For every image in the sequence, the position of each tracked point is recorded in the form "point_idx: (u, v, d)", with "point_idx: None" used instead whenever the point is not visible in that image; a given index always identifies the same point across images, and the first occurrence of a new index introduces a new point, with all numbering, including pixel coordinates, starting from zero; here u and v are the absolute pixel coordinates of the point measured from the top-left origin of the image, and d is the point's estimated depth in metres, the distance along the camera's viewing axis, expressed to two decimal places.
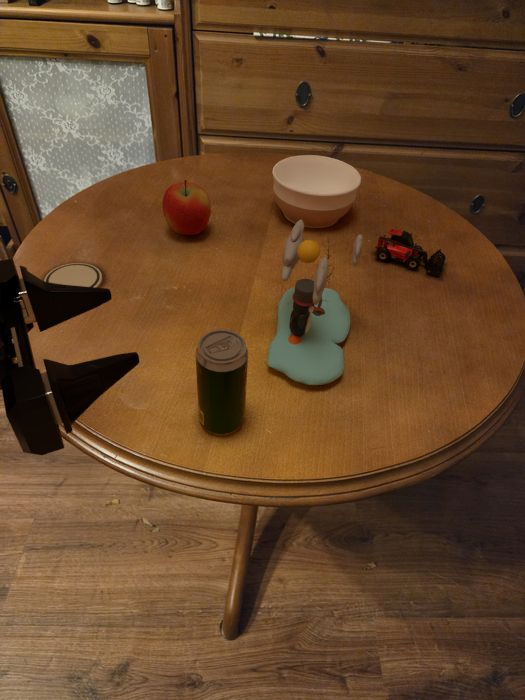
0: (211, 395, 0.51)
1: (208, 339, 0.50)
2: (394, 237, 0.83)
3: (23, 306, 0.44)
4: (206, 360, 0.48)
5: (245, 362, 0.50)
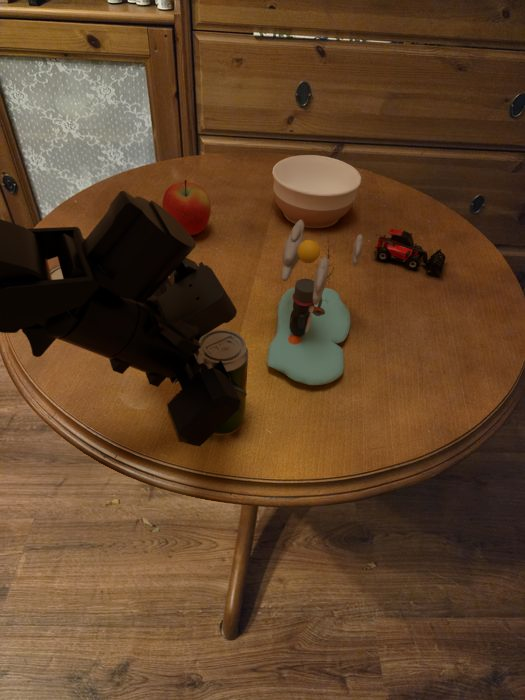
0: None
1: (208, 339, 0.50)
2: (394, 237, 0.83)
3: None
4: (206, 360, 0.48)
5: (245, 362, 0.50)
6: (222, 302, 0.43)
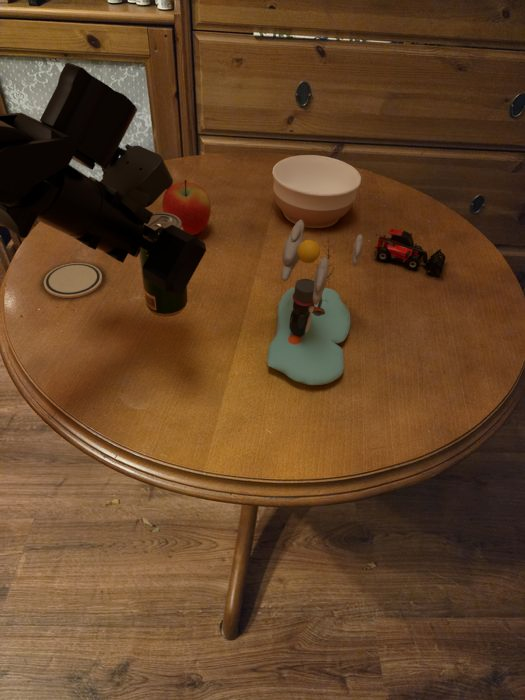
0: None
1: None
2: (394, 237, 0.83)
3: None
4: None
5: None
6: (163, 167, 0.50)
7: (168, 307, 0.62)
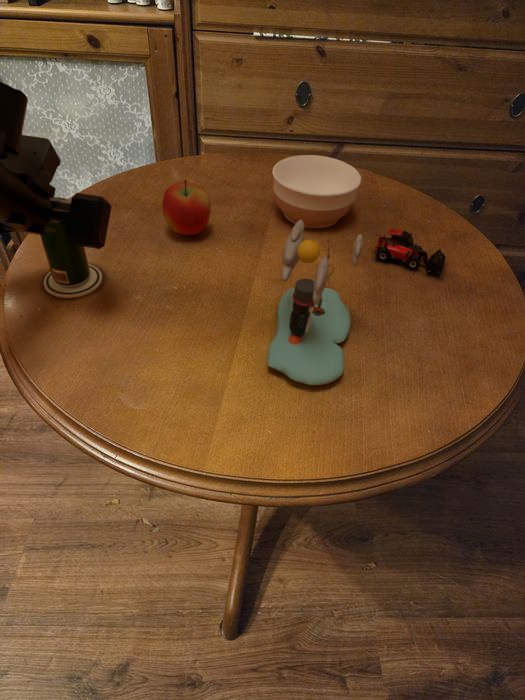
0: (68, 246, 0.68)
1: None
2: (394, 236, 0.83)
3: None
4: None
5: None
6: (52, 147, 0.60)
7: (79, 277, 0.72)
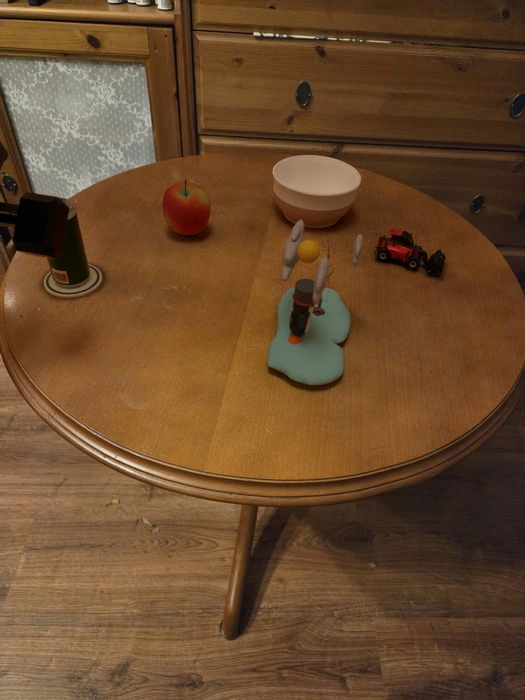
0: (68, 246, 0.68)
1: None
2: (394, 237, 0.83)
3: None
4: None
5: None
6: None
7: (79, 277, 0.72)
